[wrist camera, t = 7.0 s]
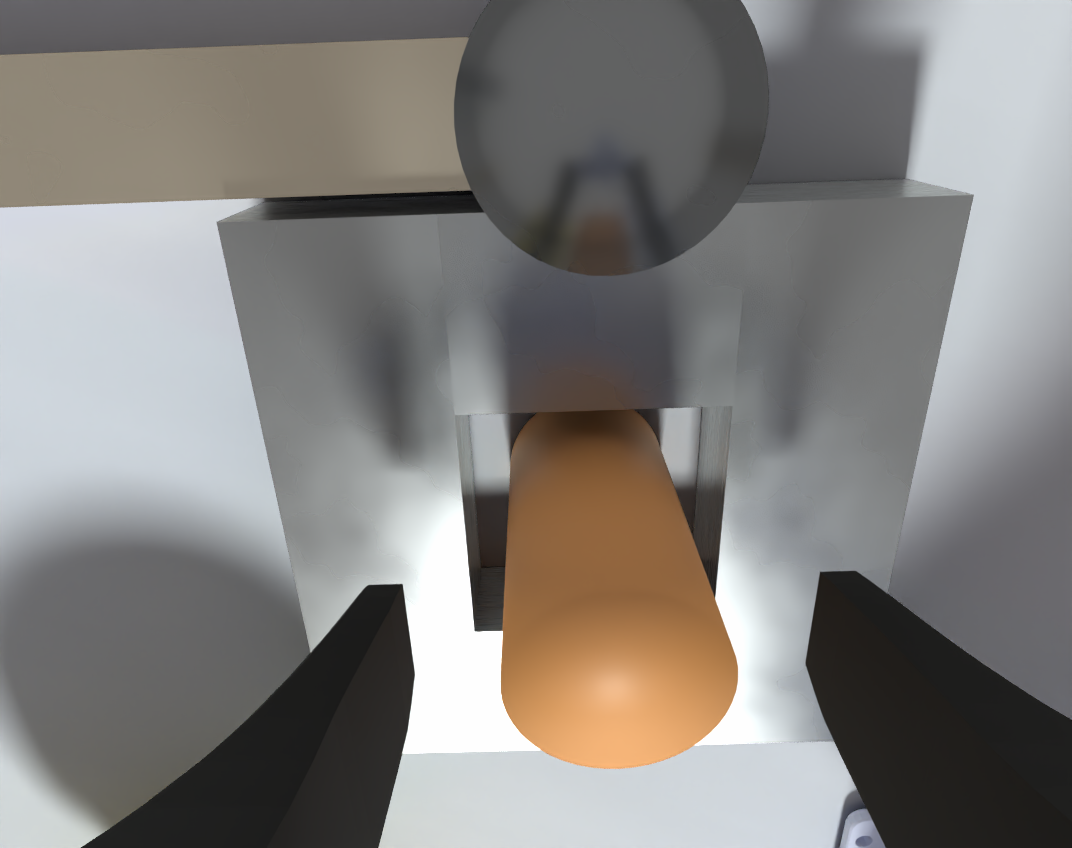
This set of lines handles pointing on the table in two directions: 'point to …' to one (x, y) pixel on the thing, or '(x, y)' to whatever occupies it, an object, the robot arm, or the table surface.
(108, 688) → the table surface
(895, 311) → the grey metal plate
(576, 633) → the orange rounded cylinder
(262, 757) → the robot arm
